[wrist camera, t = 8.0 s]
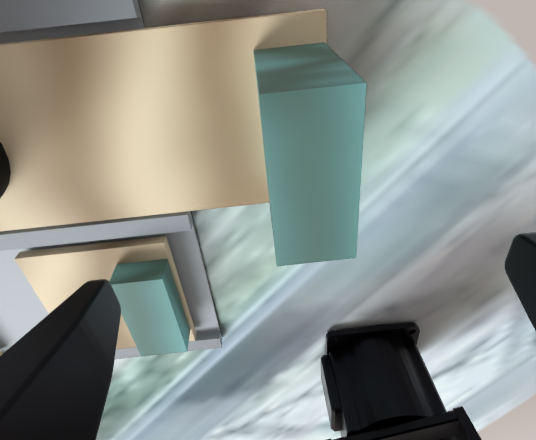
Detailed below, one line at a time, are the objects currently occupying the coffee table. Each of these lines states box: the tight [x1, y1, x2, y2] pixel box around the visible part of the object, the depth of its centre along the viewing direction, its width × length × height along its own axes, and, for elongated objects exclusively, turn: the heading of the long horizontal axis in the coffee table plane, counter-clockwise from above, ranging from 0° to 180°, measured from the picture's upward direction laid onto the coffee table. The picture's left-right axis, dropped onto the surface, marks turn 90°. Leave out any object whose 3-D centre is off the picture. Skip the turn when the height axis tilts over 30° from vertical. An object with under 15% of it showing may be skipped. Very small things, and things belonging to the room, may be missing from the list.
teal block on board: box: [0, 9, 366, 266], centre depth 14 cm, size 22×8×7 cm, turn 95°
